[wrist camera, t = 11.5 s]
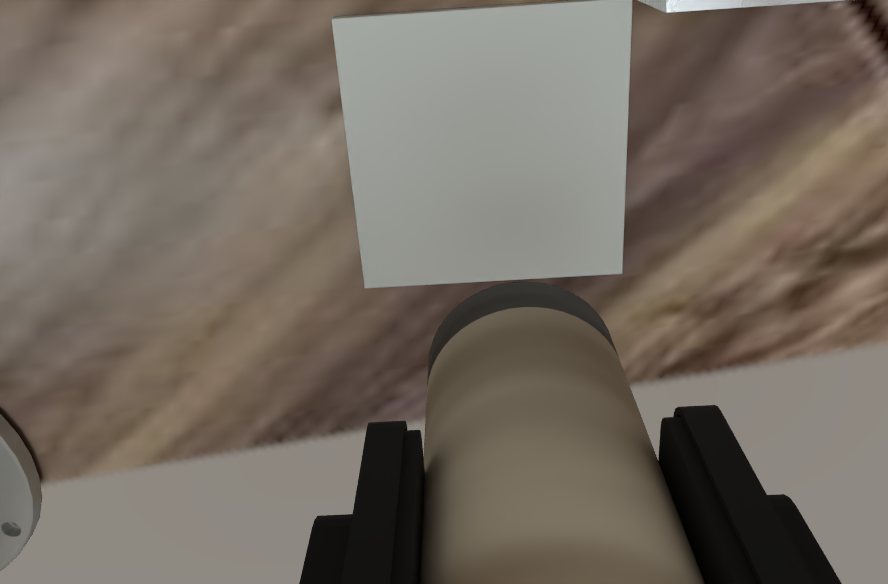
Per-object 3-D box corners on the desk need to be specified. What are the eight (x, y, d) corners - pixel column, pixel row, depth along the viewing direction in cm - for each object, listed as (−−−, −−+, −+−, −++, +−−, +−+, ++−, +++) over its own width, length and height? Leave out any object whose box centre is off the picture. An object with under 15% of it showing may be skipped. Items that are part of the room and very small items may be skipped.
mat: (619, 267, 30) (621, 273, 30) (366, 281, 31) (364, 288, 30) (628, -4, 26) (632, -2, 25) (334, 16, 26) (331, 19, 26)
